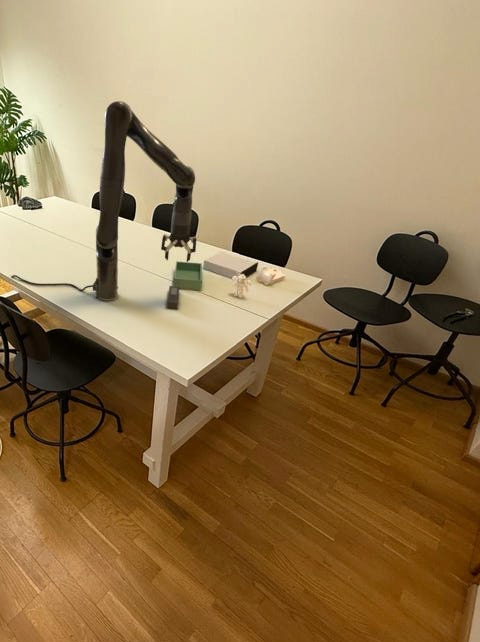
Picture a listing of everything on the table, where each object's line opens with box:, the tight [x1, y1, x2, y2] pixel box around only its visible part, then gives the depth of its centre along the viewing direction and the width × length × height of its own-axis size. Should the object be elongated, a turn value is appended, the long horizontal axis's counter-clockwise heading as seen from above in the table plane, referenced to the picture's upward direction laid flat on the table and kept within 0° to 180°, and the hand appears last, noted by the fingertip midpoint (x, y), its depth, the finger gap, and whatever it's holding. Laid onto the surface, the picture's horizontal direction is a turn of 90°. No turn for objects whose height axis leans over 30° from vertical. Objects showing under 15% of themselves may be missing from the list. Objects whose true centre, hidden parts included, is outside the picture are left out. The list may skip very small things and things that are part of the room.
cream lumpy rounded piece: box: [255, 265, 286, 286], centre depth 185 cm, size 13×7×8 cm, turn 124°
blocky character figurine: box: [231, 272, 252, 299], centre depth 169 cm, size 9×4×12 cm, turn 53°
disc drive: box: [202, 251, 259, 279], centre depth 195 cm, size 18×22×5 cm
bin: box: [172, 261, 203, 292], centre depth 184 cm, size 13×21×5 cm, turn 171°
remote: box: [166, 285, 180, 310], centre depth 166 cm, size 5×16×3 cm, turn 171°
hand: (177, 260), depth 156 cm, fingers open, 8 cm apart
